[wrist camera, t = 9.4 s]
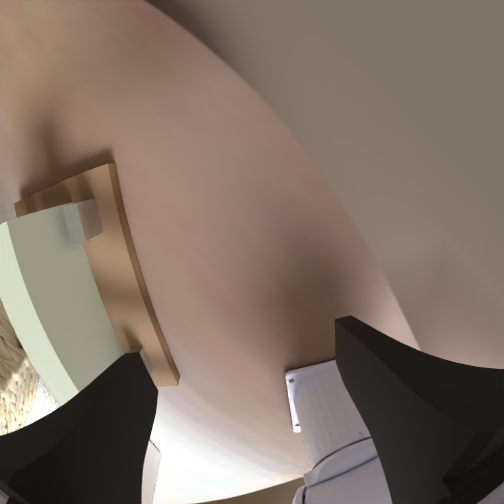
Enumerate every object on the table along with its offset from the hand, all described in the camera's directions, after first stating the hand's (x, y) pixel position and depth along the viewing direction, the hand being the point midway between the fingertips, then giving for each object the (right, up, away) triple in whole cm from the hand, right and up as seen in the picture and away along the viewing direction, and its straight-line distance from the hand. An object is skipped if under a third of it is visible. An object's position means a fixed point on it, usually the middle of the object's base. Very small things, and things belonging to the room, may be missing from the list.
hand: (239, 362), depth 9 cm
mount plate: (-12, +1, +10) cm, 16 cm away
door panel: (-12, 0, +9) cm, 15 cm away
